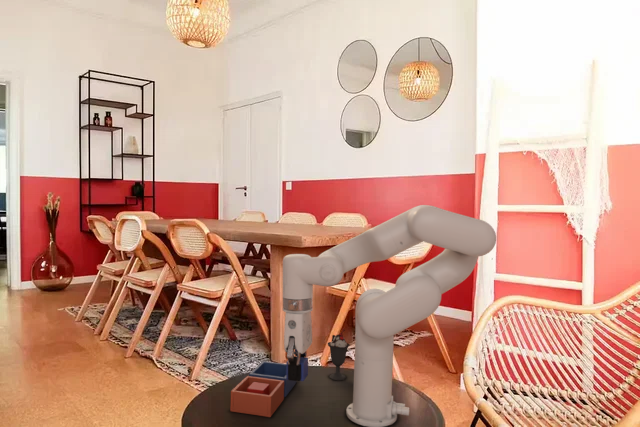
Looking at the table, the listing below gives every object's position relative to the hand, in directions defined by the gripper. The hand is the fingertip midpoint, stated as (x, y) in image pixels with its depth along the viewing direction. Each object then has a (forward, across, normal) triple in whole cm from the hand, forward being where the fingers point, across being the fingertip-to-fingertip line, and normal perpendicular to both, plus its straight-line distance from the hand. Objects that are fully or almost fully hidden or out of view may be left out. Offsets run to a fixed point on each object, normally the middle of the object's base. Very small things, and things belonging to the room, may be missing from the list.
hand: (297, 375), depth 118 cm
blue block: (0, 0, 0) cm, 0 cm away
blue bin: (+9, +13, +11) cm, 19 cm away
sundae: (+10, +26, -5) cm, 28 cm away
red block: (+8, +1, +11) cm, 14 cm away
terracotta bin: (+9, +1, +11) cm, 14 cm away
